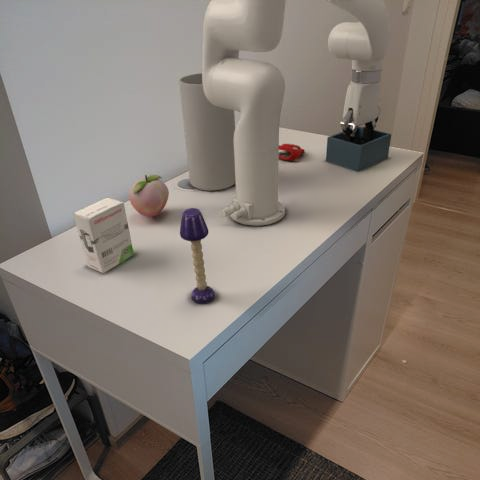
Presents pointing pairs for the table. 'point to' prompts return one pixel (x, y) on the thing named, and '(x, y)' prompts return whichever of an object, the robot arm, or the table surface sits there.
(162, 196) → the decorative fruit
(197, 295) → the toy lamp
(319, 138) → the table surface
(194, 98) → the cylinder vase
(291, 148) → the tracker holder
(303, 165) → the table surface
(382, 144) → the teal open box
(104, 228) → the ink box
